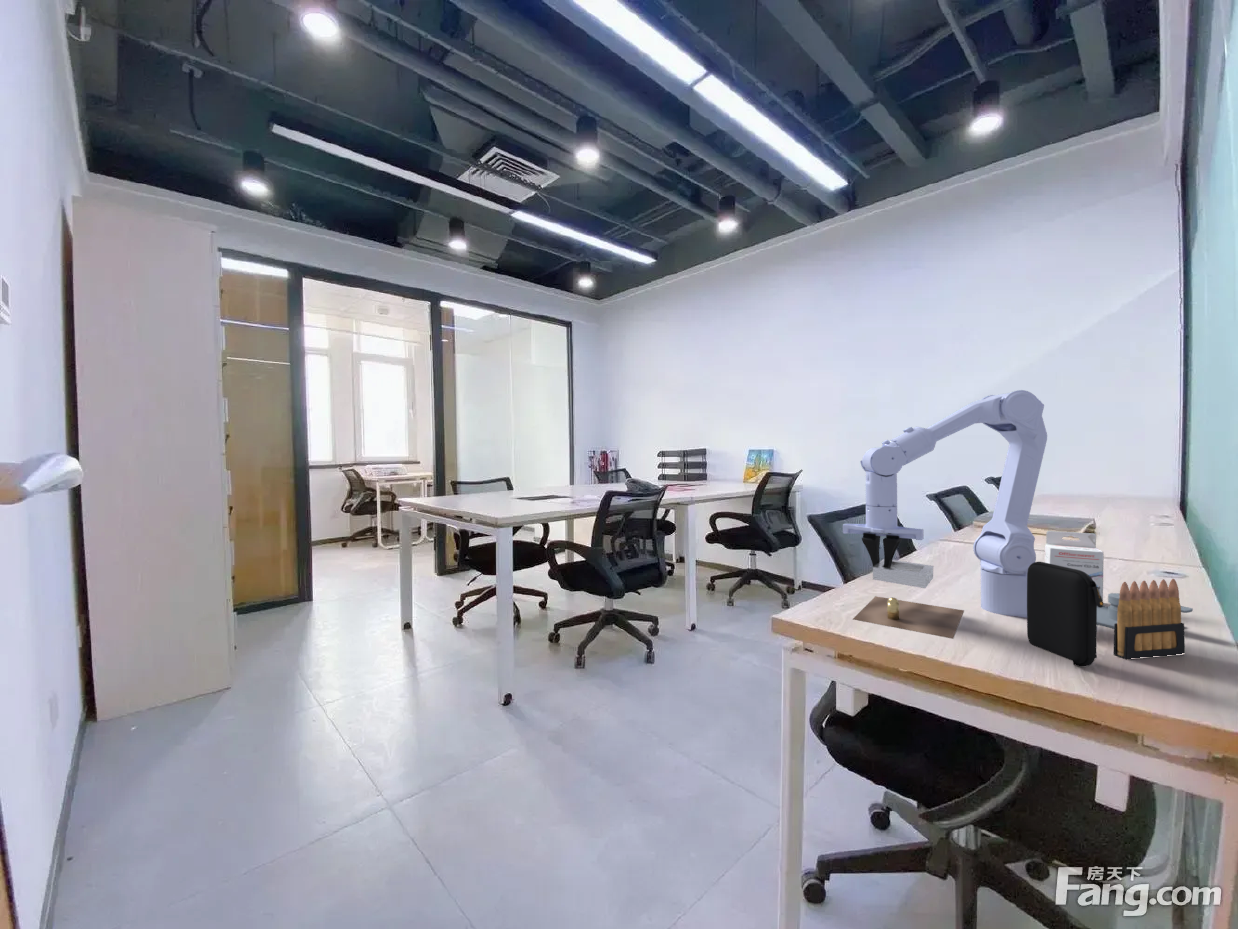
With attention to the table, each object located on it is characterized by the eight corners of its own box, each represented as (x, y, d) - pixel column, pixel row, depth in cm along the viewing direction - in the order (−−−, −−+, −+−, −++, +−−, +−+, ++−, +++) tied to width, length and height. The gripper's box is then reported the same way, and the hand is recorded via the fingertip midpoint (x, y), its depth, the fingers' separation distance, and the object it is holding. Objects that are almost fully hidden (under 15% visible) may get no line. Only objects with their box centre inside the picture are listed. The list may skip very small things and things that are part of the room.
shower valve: (1172, 614, 80) (1062, 590, 94) (1172, 646, 81) (1062, 618, 95) (1207, 603, 85) (1098, 582, 99) (1207, 634, 85) (1098, 609, 99)
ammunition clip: (1126, 660, 75) (1126, 583, 75) (1112, 655, 77) (1112, 580, 77) (1185, 655, 76) (1185, 580, 76) (1170, 650, 78) (1171, 577, 78)
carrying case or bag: (1110, 674, 71) (1110, 574, 70) (1092, 676, 70) (1093, 575, 70) (1037, 645, 81) (1036, 558, 81) (1021, 647, 81) (1021, 559, 80)
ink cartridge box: (1048, 602, 103) (1048, 533, 102) (1043, 596, 107) (1043, 530, 107) (1104, 608, 98) (1104, 536, 98) (1096, 601, 103) (1096, 532, 102)
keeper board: (963, 615, 96) (963, 610, 96) (952, 644, 83) (952, 638, 83) (875, 600, 107) (875, 596, 107) (852, 624, 93) (852, 619, 93)
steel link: (933, 578, 97) (933, 565, 97) (925, 588, 90) (925, 575, 90) (883, 570, 103) (883, 558, 103) (872, 579, 96) (873, 567, 96)
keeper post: (900, 617, 93) (900, 597, 93) (898, 620, 91) (897, 599, 91) (888, 615, 94) (888, 595, 94) (886, 618, 93) (886, 598, 93)
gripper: (838, 505, 101) (838, 569, 101) (918, 509, 91) (919, 580, 91) (847, 502, 106) (848, 563, 106) (925, 505, 96) (925, 573, 97)
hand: (881, 571), depth 99 cm, fingers closed on steel link, 1 cm apart
